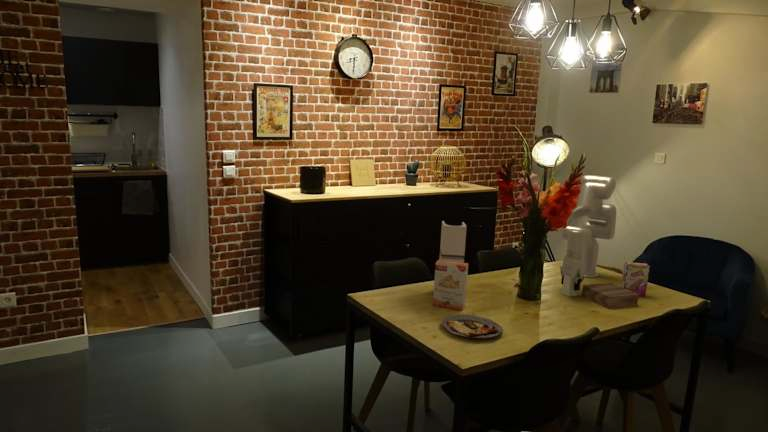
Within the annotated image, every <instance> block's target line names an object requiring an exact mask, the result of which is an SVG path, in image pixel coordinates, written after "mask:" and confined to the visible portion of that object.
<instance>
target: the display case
mask: <svg viewBox="0 0 768 432" xmlns="http://www.w3.org/2000/svg"><path fill="white" fill-rule="evenodd" d="M466 239H467V224H466V223H465V222H464V221H462V222H461V225H450V224H447V223H446V222H445V220H442V221H441V231H440V245H439V246H440V247H439V259H441V260H448V261H454V262H461V263H465V256H466V255H465V254H466V253H465V252H466V251H465V250H466ZM439 259H438V260H439Z"/></svg>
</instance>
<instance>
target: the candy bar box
mask: <svg viewBox="0 0 768 432" xmlns="http://www.w3.org/2000/svg"><path fill="white" fill-rule="evenodd" d="M623 265H624V266H623V271H622V272H623V273H622V279H621V286H620V287H622V288H625V289H627V290H630V291H632V292H634V293H637V294H639V296H638V297H646V294H647V287H648V282H649V281H648V280H649V276H650V275H649V274H650V269H651V266H650V265H649V264H648V263H642V262H641V263H640V262H633V261H632V262H631V261H630V262H629V261H624V264H623Z"/></svg>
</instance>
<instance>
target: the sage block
mask: <svg viewBox="0 0 768 432" xmlns="http://www.w3.org/2000/svg"><path fill="white" fill-rule="evenodd" d="M576 277H577V276H576ZM577 280H578V278H577ZM574 283H575V279H574V278H571V277H568V276H566V275H564V281H563V285H562V291H561V293H562V294H563V295H565V296H567V297H577V296H578V290H576V291H575V290H574Z"/></svg>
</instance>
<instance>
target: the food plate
mask: <svg viewBox="0 0 768 432" xmlns="http://www.w3.org/2000/svg"><path fill="white" fill-rule="evenodd" d="M462 323H463V324H462ZM478 324H479V325H478ZM440 325H442V326H443V327H444V328H445V329H446V330H447V331H448V332H450V333H451V334H453V335H456V336H458V337H463V338H467V339H468V338H469V339H475V340H476V339H492V338H496V337H499V336H500V335H502V334H503V333H504V329H503V327H502V326H501V325H500V324H499V323H497V322H496V321H493V320H492V319H490V318H487V317H483V316H479V315H473V314H454V315H449V316H447V317H446V316H445V317H443V318H442V319H441V320H440ZM481 325H482V326H481Z"/></svg>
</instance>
